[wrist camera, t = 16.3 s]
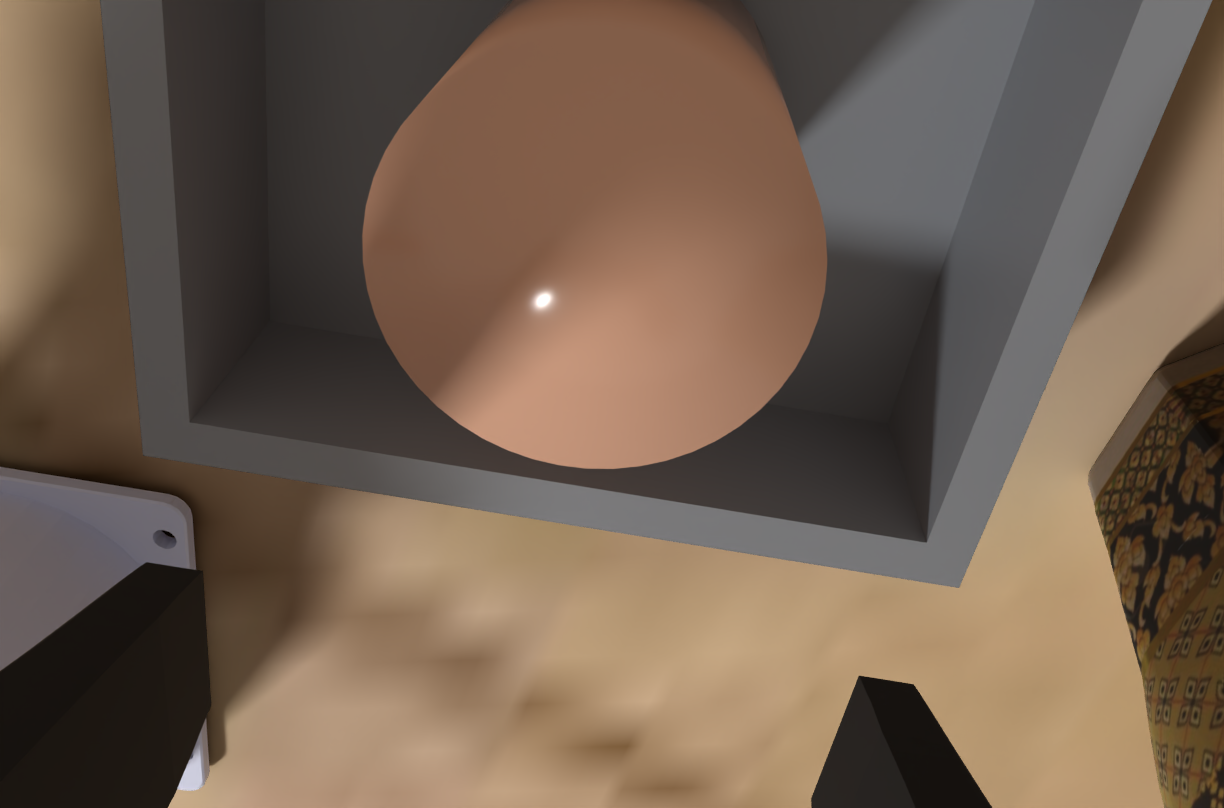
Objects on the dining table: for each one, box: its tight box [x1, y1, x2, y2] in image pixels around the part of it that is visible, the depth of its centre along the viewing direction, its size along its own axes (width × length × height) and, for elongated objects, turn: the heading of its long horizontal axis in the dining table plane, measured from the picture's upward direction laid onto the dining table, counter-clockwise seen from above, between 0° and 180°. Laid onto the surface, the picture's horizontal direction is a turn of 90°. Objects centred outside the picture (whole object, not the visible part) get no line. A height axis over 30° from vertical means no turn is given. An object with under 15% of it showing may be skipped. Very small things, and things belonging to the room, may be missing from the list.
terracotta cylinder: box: [362, 0, 827, 469], centre depth 14 cm, size 5×5×7 cm
